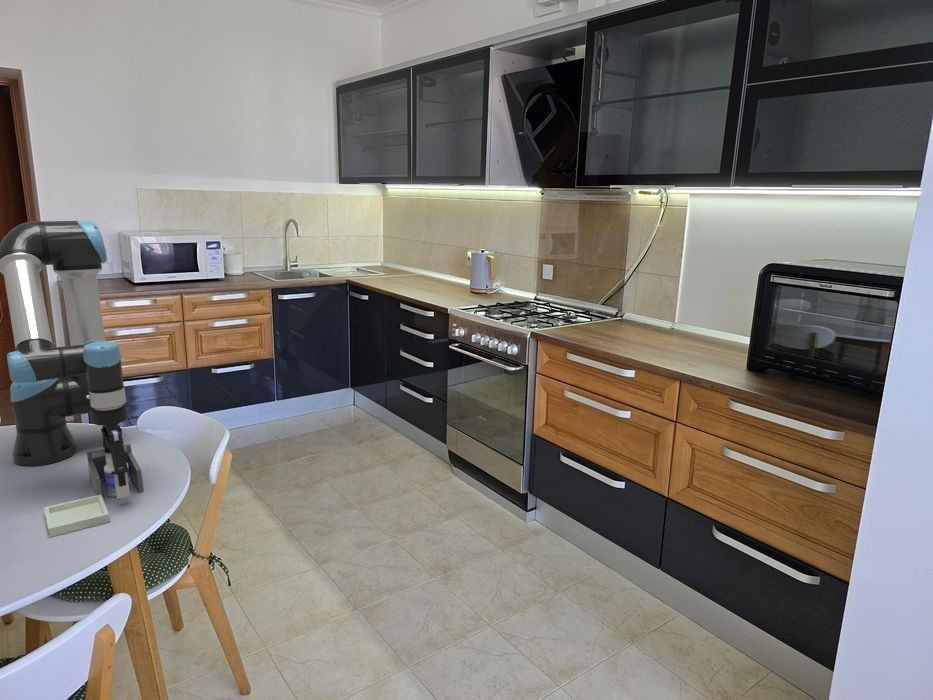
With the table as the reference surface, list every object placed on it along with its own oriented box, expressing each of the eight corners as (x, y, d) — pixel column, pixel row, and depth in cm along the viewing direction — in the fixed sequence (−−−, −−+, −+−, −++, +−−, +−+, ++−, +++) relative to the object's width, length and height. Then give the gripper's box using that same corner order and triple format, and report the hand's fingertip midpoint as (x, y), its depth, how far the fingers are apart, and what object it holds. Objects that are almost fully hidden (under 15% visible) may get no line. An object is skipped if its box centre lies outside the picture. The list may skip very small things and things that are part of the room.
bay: (90, 480, 164) (86, 452, 163) (133, 471, 170) (130, 443, 168) (98, 502, 154) (94, 471, 152) (143, 491, 159) (140, 462, 157)
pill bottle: (121, 498, 156) (116, 461, 153) (101, 496, 157) (97, 459, 154) (136, 488, 161) (132, 453, 159) (117, 486, 162) (113, 450, 160)
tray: (45, 515, 147) (44, 507, 147) (102, 501, 154) (101, 494, 153) (49, 537, 138) (48, 529, 138) (109, 521, 145) (108, 514, 144)
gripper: (84, 395, 161) (94, 472, 166) (98, 423, 141) (109, 510, 146) (117, 390, 165) (126, 465, 170) (135, 417, 146) (145, 501, 151)
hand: (118, 486), depth 158 cm, fingers open, 13 cm apart
